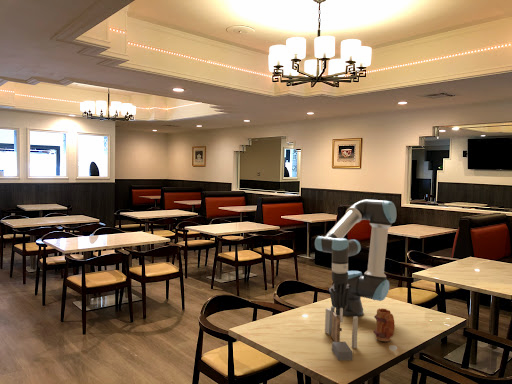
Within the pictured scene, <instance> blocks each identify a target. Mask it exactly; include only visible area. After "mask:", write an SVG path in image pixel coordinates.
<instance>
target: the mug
mask: <svg viewBox="0 0 512 384" xmlns="http://www.w3.org/2000/svg"><path fill="white" fill-rule="evenodd" d="M374 319H375V320H376V323H375V324H376V325H375V329H374V330H373V331H372V332H373V333H374V336H375V338H376V340H377V341H380V342H390V341H391V338H393V335H394V333H395V328H396V327H395V317H394V315H393V314H392V313H391V310H389V309H387V308H378V309H377V310H376V314H375V315H374Z"/></svg>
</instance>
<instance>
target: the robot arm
mask: <svg viewBox="0 0 512 384" xmlns="http://www.w3.org/2000/svg"><path fill="white" fill-rule="evenodd" d="M396 219H397V208H396V205H395V203H394V202H393V201H390V200H386V199H385V200H381V199H380V200H378V199H370V198H369V199H367V198H366V199H365V198H364V199H360V200H359V201H357V202H355V203H353V204H352V205H350V206H349V207H348V208H347V209H346V210H345V214H344V215H343V216H342V217H341V218H340V219H339V220H338V221H337V222H336V223H335V224H334V226H333V227H332V228H331V229H330V230H329V231H328V232H327V233H326V234H325V235H324V236H323V235H321V236H320V235H317V237H316V238H315V240H314V248H315V249H316V250H317V251H319V252H323V253H330V254H331V279H332V283H331V287H327V289H328V292H329V296H330V301H331V306H333V307H335V313H336V315H337V316H338V318H339V319H340V323H343V322H344V316H345V317H355V316H356V317H360V316H363V315H364V308H363V304H362V303H363V302H362V300H361V298H364V299H365V298H366V299H368V300H369V299H370V300H373V301H379V302H382V301H384V300H385V299H386V298H387V295H388V293H389V291H390V280H388V279H387V275H386V274H385V261H386V252H387V243H388V233H389V228H391V227H392V224H393V223H395V222H396V221H397V220H396ZM364 220H365V221H369V223H368V224H369V225H370V227H371V233H370V240H369V241H370V243H369V250H368V251H369V252H368V262H367V270H366V271H365V272H364V273H362V271H359V270H349V257H354V256H356V255H358V254H359V253H360V251H361V250H362V247H361V243H360V241H359V240H357V239H347V238H345V236H346V235H347V234H348V233H349V232H350V231H351V229H353V227H354V226H355V225H356V224H358V223H360V222H361V221H364Z"/></svg>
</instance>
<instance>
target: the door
mask: <svg viewBox="0 0 512 384" xmlns="http://www.w3.org/2000/svg"><path fill="white" fill-rule="evenodd" d="M342 331H343V329H342V327H341V322H340V319H339V318H338V316H337V315H336V311H335V312H332V330H331V336H330V337H331V338H332V340H333V342H341V341H340V340H341V338H340V336H341V332H342Z"/></svg>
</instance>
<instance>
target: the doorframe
mask: <svg viewBox="0 0 512 384" xmlns="http://www.w3.org/2000/svg"><path fill="white" fill-rule="evenodd" d="M332 312H335V313H336V308H335V307H333V306H332V305H331V307H330V308H329V307H328V308H325V320H324V324H325V325H324V332H325V333H326V334H327V335H330V337H332V336H331V330H332ZM358 326H359V316H352V330H351V331H352V333H351V334H352V335H351V348H353V349H356V348H357V347H358V331H359V330H358V328H359V327H358Z"/></svg>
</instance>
